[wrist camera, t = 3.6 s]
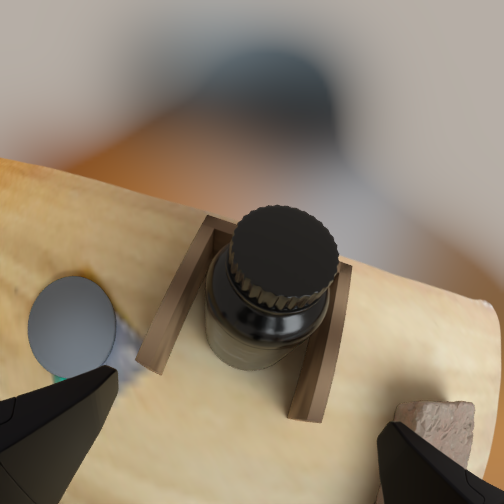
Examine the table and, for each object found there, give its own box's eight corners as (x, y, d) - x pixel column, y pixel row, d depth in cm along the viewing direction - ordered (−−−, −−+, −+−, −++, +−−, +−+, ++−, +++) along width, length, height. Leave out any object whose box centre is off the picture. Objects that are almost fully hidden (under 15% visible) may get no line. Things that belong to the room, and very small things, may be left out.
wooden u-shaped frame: (299, 420, 18) (321, 423, 14) (149, 369, 18) (134, 360, 15) (330, 290, 24) (352, 266, 21) (206, 246, 25) (207, 214, 21)
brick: (391, 403, 19) (425, 397, 15) (449, 403, 19) (481, 396, 15) (350, 554, 10) (375, 571, 6) (416, 537, 10) (444, 546, 6)
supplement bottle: (304, 348, 21) (388, 285, 11) (228, 386, 19) (253, 360, 9) (265, 279, 24) (308, 177, 14) (192, 308, 22) (181, 210, 12)
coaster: (52, 395, 15) (48, 394, 15) (21, 306, 18) (18, 303, 18) (135, 348, 19) (133, 347, 18) (93, 263, 22) (91, 259, 22)
